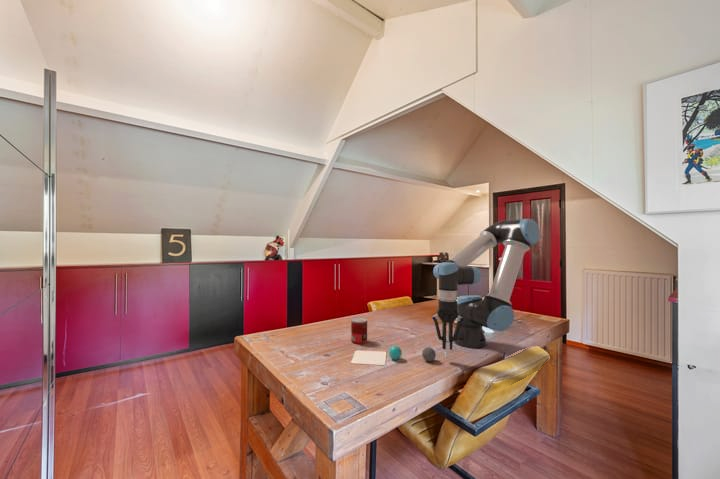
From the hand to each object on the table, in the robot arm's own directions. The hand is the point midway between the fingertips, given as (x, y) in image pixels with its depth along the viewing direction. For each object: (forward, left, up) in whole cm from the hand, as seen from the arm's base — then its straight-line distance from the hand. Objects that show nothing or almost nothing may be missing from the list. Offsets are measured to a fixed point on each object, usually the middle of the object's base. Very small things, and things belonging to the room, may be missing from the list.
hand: (447, 356), depth 123 cm
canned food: (+39, -19, -3) cm, 44 cm away
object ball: (+21, 0, 0) cm, 21 cm away
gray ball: (+7, 0, 0) cm, 7 cm away
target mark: (+32, 0, -2) cm, 32 cm away
